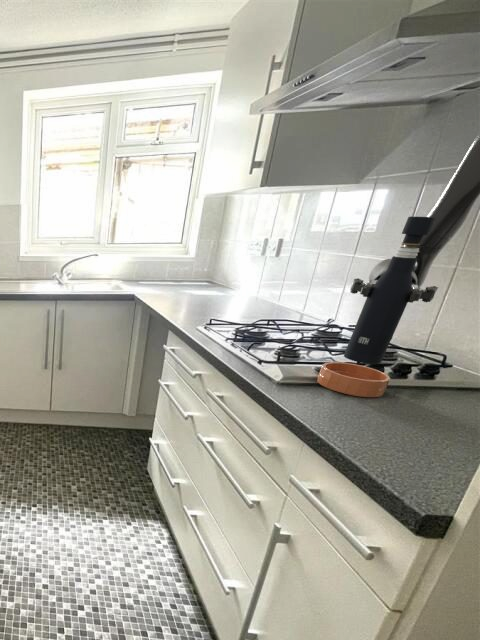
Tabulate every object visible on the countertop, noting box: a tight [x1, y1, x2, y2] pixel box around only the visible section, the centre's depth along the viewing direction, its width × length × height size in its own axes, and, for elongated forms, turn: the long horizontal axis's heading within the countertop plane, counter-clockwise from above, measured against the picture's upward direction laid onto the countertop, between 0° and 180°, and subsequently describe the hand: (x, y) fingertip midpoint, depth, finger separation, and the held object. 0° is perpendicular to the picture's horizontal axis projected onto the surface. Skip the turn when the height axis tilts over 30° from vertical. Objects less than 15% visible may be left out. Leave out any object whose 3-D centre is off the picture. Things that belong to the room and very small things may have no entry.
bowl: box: [316, 361, 391, 398], centre depth 100 cm, size 12×12×4 cm
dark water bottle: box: [343, 216, 436, 365], centre depth 88 cm, size 6×6×30 cm
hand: (389, 294), depth 87 cm, fingers closed on dark water bottle, 6 cm apart
